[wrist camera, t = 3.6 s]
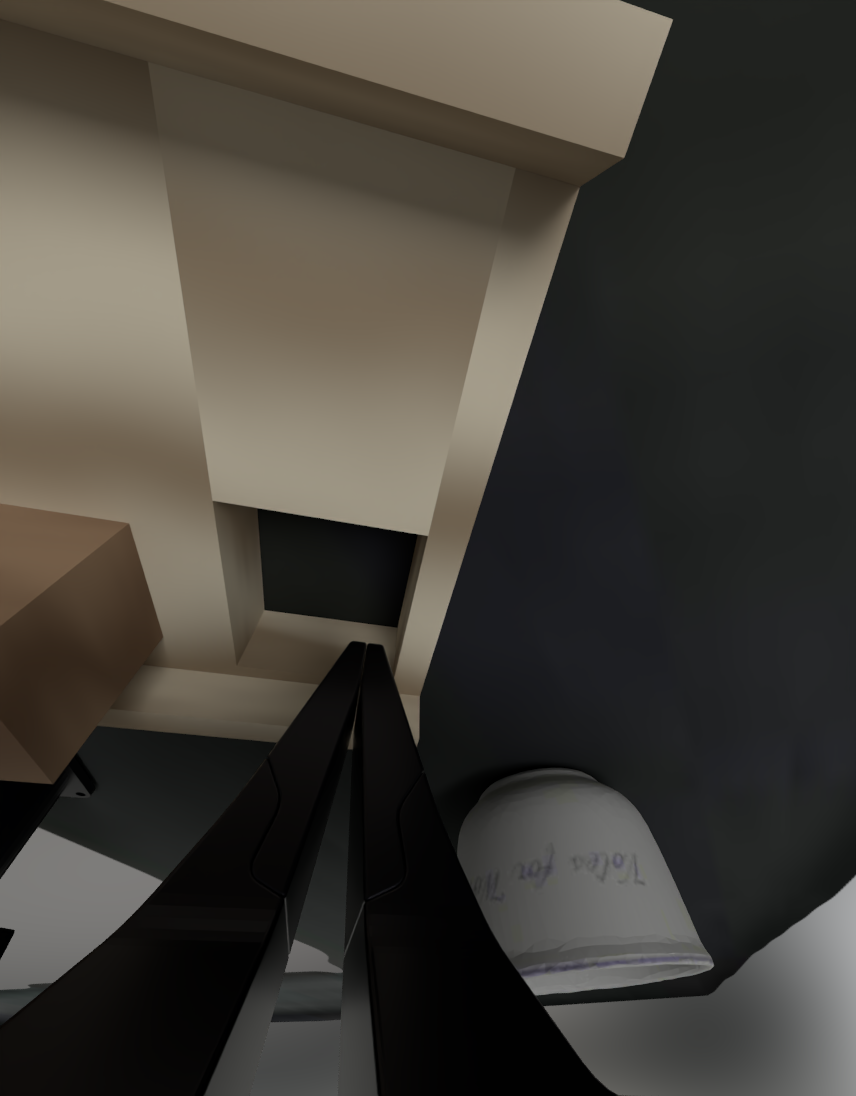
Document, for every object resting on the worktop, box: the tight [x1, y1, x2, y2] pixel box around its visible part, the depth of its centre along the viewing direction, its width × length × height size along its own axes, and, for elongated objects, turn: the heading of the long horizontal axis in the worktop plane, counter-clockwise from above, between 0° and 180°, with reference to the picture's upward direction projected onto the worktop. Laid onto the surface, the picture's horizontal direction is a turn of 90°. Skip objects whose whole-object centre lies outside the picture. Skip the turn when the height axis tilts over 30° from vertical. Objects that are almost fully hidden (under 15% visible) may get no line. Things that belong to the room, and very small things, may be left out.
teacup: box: [457, 768, 714, 995], centre depth 20 cm, size 14×11×8 cm
